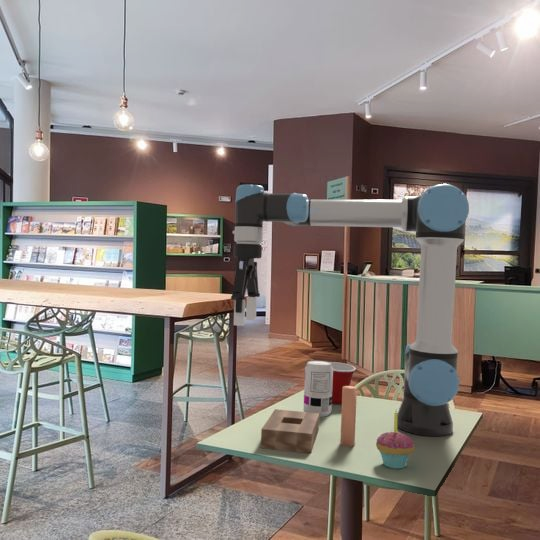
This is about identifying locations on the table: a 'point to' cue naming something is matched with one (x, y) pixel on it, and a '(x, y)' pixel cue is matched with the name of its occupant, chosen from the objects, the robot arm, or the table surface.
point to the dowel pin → (348, 415)
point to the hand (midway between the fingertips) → (245, 322)
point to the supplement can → (318, 387)
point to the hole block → (290, 431)
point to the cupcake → (395, 447)
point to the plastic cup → (340, 379)
